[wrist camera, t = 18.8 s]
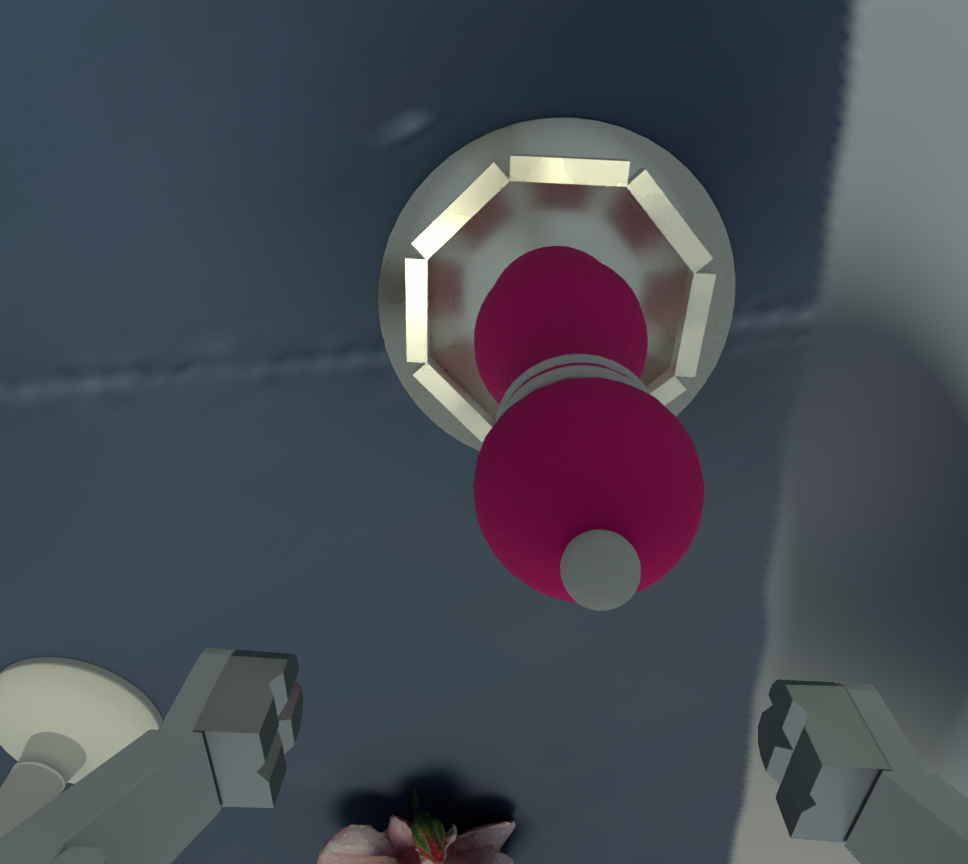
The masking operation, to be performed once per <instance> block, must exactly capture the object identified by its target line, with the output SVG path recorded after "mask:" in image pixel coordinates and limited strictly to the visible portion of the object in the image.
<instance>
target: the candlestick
mask: <svg viewBox="0 0 968 864" xmlns="http://www.w3.org/2000/svg"><path fill="white" fill-rule="evenodd" d="M162 723H163V719H162V717H161V715H160V713H159V712H158V710H157V708H156V707H155V706H154V704H153V703H152V702H151V701H150V700H149V699H148V697H147V696H146V695H144V694H143V693H142V692H141V691H140V690H139V689H138V688H136V687H135V686H134V685H132V684H131V683H130V682H128V681H127V680H125V679H123V678H122V677H120V676H118V675H116V674H114V673H112V672H110V671H108V670H106V669H104V668H101V667H99V666H96V665H93V664H90V663H86V662H83V661H79V660H74V659H68V658H60V657H38V658H30V659H26V660H22V661H19V662H16V663H14V664H12V665H10V666H8V667H6V668H5V669H3V670H2V671H1V672H0V745H1V746H2V747H3V748H4V749H5V750H6V751H7V752H8V753H9V754H10V755H11V756H12V757H14V758H15V759H16V760H17V761H18V762H17V764H16V765H14V767H13V768H12V770H11V772H10V774H9V775H8V777H7V778H6V780H5V782H4V783H3V785H2V786H1V788H0V838H1V837H2V836H4V835H5V834H6V833H8V832H9V831H11V830H12V829H13V828H15V827H16V826H17V825H19V824H20V823H22V822H23V821H24V820H26V819H27V818H28V817H30V816H31V815H33V814H34V813H35V812H37V811H38V810H39V809H41V808H42V807H44V806H45V805H46V804H48V803H49V802H51V801H52V800H53V799H55V798H56V797H57V796H58V795H59V794H60V793H61V792H62V791H63V790H64V788H65V785H66V783H67V782H68V783H73V784H75V783H77V782H78V781H79V780H81V779H82V778H84V777H85V776H86V775H88V774H89V773H90V772H92V771H93V770H95V769H96V768H97V767H99V766H100V765H101V764H103V763H104V762H106V761H107V760H108V759H110V758H111V757H112V756H114V755H115V754H117V753H118V752H119V751H121V750H122V749H124V748H125V747H126V746H128V745H129V744H130V743H132V742H133V741H135V740H136V739H137V738H139V737H140V736H141V735H143V734H144V733H146V732H147V731H148V730H150V729H152V730H159V728H160V726H161V725H162Z"/></svg>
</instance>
